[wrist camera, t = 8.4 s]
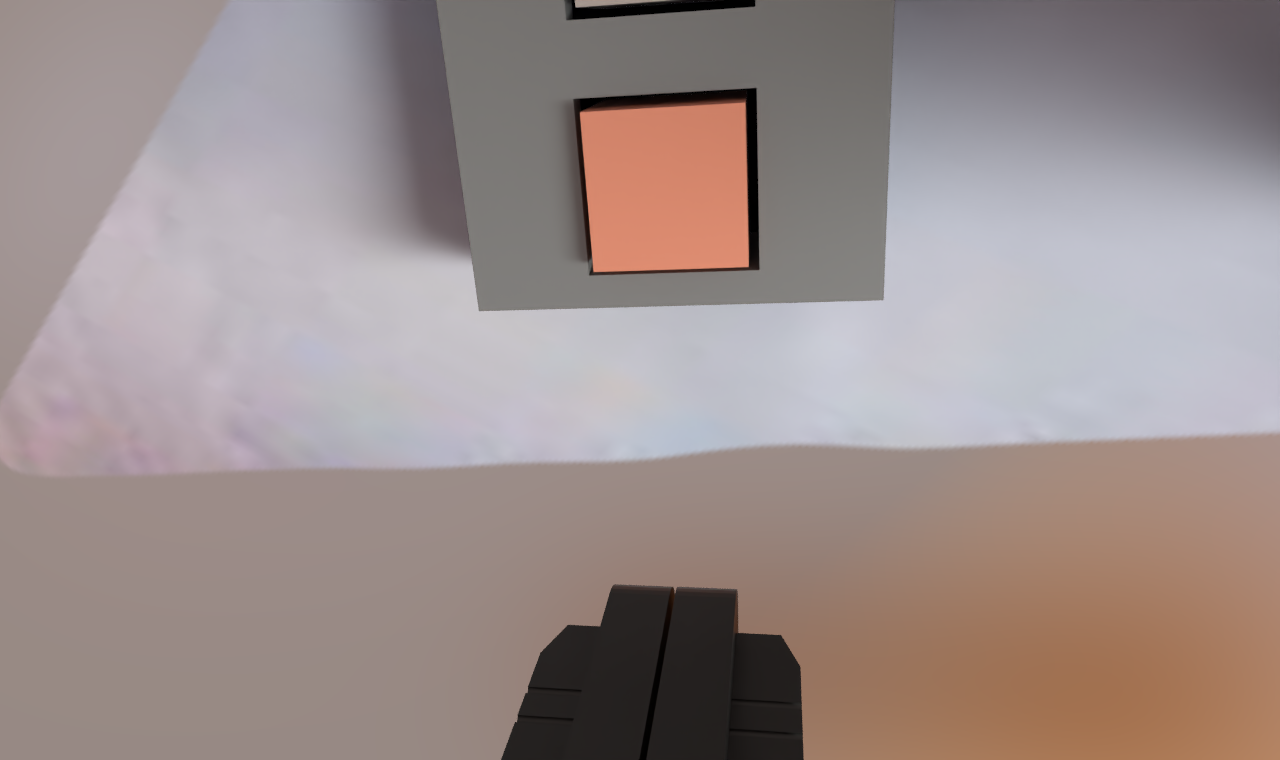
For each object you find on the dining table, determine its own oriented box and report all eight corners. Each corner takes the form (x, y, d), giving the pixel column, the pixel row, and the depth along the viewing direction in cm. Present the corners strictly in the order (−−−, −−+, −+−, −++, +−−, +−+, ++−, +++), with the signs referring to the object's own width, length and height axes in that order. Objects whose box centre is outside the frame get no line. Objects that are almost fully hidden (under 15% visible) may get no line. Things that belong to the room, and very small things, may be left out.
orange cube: (747, 90, 27) (745, 102, 23) (749, 231, 29) (748, 266, 25) (606, 98, 28) (579, 112, 24) (616, 236, 29) (593, 271, 25)
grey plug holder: (878, -233, 25) (905, -290, 20) (863, 257, 30) (883, 300, 25) (465, -188, 26) (403, -232, 22) (519, 268, 32) (479, 310, 27)
